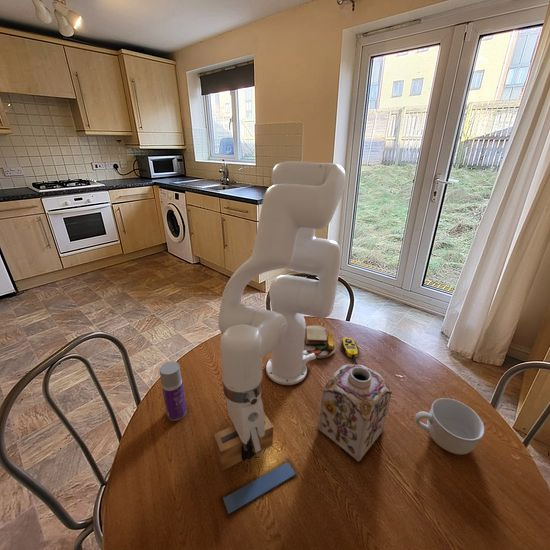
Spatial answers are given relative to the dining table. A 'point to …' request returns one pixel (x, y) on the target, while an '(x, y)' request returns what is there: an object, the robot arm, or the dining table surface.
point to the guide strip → (258, 487)
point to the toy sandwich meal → (318, 342)
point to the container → (173, 390)
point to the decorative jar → (354, 408)
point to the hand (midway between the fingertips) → (244, 446)
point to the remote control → (350, 348)
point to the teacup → (452, 425)
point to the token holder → (237, 444)
